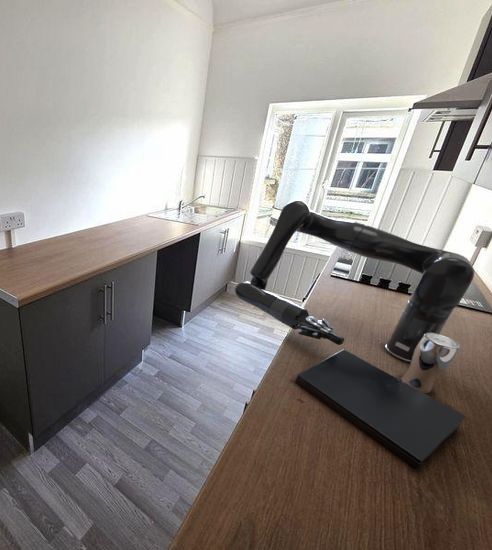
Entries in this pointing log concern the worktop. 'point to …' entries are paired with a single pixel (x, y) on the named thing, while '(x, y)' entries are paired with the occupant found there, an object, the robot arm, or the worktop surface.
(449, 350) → the beer glass
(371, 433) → the laptop
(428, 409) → the laptop screen
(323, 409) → the worktop surface
